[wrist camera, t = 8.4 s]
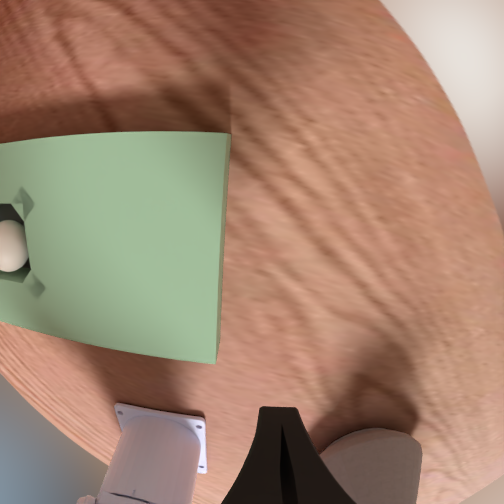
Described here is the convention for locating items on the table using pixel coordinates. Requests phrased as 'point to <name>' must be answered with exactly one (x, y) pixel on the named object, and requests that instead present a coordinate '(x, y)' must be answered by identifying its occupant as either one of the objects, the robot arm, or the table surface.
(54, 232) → the plate
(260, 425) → the robot arm
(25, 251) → the ball
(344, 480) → the coffee pot
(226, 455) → the table surface
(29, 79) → the table surface
